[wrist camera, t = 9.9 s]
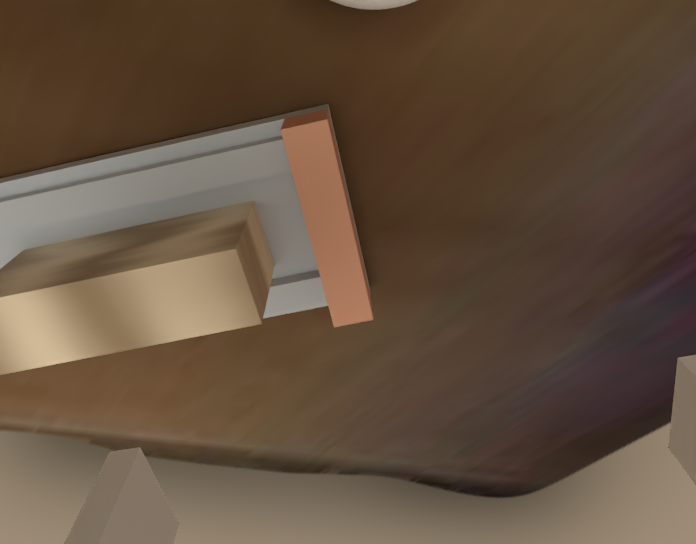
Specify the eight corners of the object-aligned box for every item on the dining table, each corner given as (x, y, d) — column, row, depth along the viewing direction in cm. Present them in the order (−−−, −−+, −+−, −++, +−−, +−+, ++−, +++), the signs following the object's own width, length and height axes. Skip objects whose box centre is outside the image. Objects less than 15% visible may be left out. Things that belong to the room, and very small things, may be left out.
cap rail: (-63, 371, 32) (-104, 411, 29) (-173, 217, 27) (-237, 245, 24) (369, 286, 30) (373, 319, 27) (328, 103, 25) (327, 119, 22)
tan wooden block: (254, 200, 26) (235, 248, 21) (274, 265, 28) (261, 324, 23) (23, 249, 27) (-46, 306, 22) (56, 309, 29) (-1, 375, 24)
